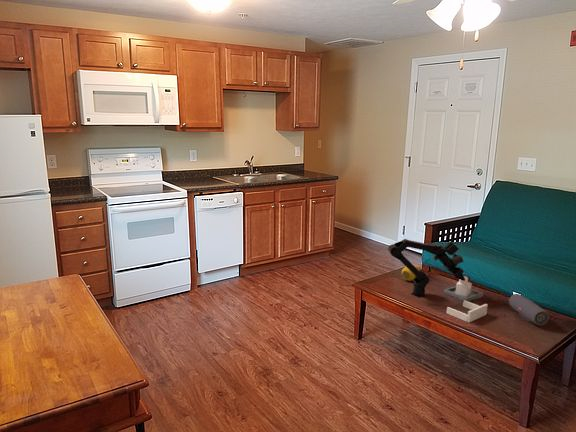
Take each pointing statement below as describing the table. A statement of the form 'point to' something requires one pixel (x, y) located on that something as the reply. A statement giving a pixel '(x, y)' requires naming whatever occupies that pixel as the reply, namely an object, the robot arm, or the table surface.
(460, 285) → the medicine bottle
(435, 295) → the table surface
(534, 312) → the bluetooth speaker
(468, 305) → the bay
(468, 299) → the tray
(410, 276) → the lantern
